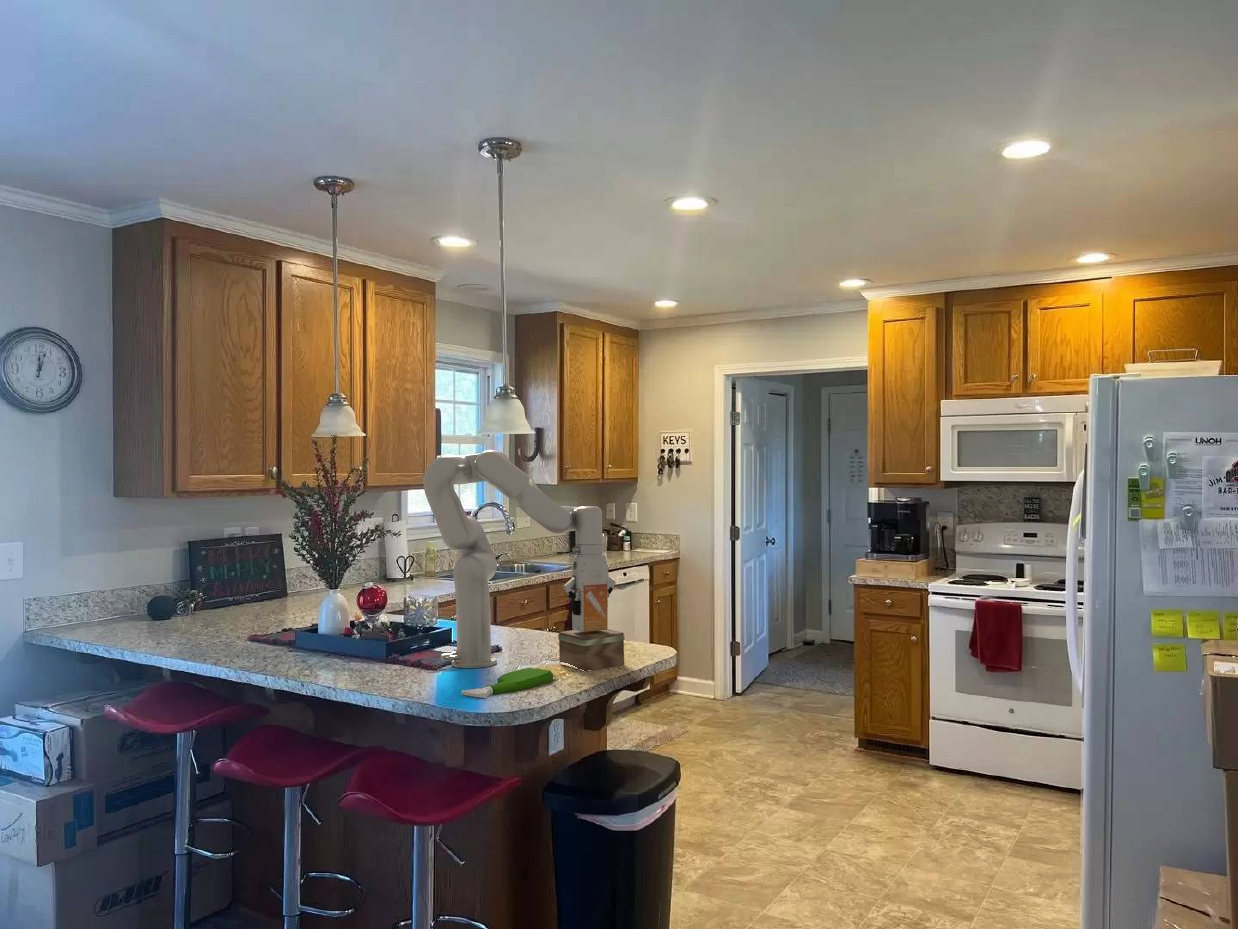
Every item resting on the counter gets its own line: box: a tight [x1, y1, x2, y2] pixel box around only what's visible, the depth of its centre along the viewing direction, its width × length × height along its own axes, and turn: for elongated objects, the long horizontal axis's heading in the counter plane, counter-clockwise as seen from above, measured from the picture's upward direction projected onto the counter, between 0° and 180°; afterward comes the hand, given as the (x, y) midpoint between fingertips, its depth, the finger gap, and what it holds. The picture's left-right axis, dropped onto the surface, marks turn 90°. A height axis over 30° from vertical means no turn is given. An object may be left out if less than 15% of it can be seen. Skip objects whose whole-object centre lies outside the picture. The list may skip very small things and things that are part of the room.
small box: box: [571, 583, 609, 632], centre depth 252 cm, size 8×6×13 cm
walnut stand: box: [557, 629, 625, 672], centre depth 252 cm, size 13×13×9 cm
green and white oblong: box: [461, 667, 554, 699], centre depth 225 cm, size 3×11×24 cm
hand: (590, 612), depth 252 cm, fingers closed on small box, 8 cm apart
